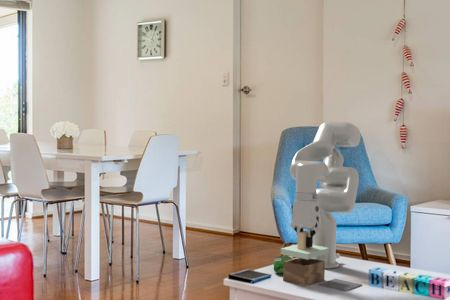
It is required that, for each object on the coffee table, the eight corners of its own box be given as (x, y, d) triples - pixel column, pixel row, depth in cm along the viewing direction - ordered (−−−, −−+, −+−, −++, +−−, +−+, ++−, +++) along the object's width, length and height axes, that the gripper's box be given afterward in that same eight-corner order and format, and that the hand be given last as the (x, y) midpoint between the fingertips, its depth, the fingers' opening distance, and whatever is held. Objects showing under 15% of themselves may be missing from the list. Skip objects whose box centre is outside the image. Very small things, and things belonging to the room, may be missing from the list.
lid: (302, 248, 219) (302, 227, 219) (328, 253, 211) (329, 231, 211) (280, 253, 209) (281, 232, 209) (307, 259, 201) (308, 237, 201)
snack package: (272, 276, 216) (272, 262, 216) (274, 266, 232) (275, 253, 231) (291, 277, 215) (291, 263, 215) (292, 267, 230) (293, 254, 230)
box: (301, 275, 218) (302, 256, 218) (324, 280, 211) (324, 261, 211) (282, 280, 209) (283, 261, 209) (305, 286, 202) (306, 266, 202)
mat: (335, 279, 212) (335, 278, 212) (362, 285, 205) (362, 284, 205) (318, 285, 204) (318, 284, 204) (346, 291, 196) (346, 290, 196)
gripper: (330, 198, 206) (329, 248, 208) (293, 193, 217) (293, 241, 218) (319, 200, 201) (318, 251, 202) (282, 195, 212) (281, 244, 213)
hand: (305, 246), depth 210 cm, fingers closed on lid, 2 cm apart
